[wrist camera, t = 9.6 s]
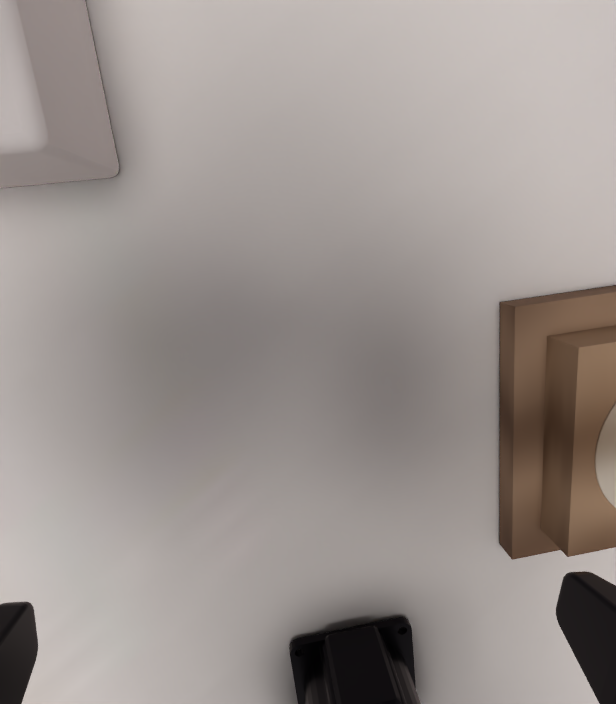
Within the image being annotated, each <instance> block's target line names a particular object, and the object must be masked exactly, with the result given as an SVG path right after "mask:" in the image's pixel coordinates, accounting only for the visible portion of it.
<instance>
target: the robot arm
mask: <svg viewBox="0 0 616 704" xmlns="http://www.w3.org/2000/svg"><path fill="white" fill-rule="evenodd" d="M556 616H557V620H558V623H559V625H560V627H561V629H562V631H563V633H564V635H565V637H566V639H567V641H568V643H569V645H570V647H571V649H572V651H573V653H574V655H575V657H576V659H577V661H578V662H579V664H580V666H581V668H582V670H583V672H584V674H585V676H586V678H587V680H588V682H589V684H590V686H591V688H592V690H593V692H594V694H595V696H596V697H597V699H598V701H599V703H600V704H616V586H615V585H613V584H611V583H610V582H608V581H606V580H604V579H602V578H600V577H599V576H597V575H595V574H593V573H590V572H570V573H567V574H566V575H565V576H564V578H563V581H562V586H561V590H560V594H559V598H558V602H557V606H556ZM401 627H402V628H401ZM289 648H290V657H291V663H292V669H293V675H294V681H295V687H296V693H297V699H298V704H421V703H420V700H419V698H418V695H417V692H416V687H415V672H414V657H413V642H412V629H411V626H410V623H409V621H408V619H406V618H404V617H398V618H393V619H389V620H384V621H379V622H374V623H370V624H365V625H360V626H355V627H351V628H346V629H341V630H336V631H331V632H327V633H322V634H317V635H312V636H308V637H303V638H298V639H295V640H293V641H292V642H291V644H290V647H289ZM298 649H300V650H298ZM37 651H38V639H37V631H36V623H35V615H34V609H33V606H32V604H31V603H29V602H12V603H3V604H1V605H0V704H21V703H22V700H23V697H24V694H25V691H26V688H27V685H28V682H29V679H30V676H31V673H32V670H33V667H34V664H35V661H36V657H37Z"/></svg>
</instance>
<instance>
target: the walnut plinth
mask: <svg viewBox="0 0 616 704" xmlns="http://www.w3.org/2000/svg"><path fill="white" fill-rule="evenodd" d="M500 545H501V546H502V547H503V549H504V550H505V551H506V552H507V554H508V555H509V556H510V557H511V559H517V558H522V557H527V556H532V555H537V554H542V553H547V552H552V551H557V550H562V551H563V552H564V553H565V555H566V556H567V557H569V556H574V555H579V554H584V553H589V552H594V551H599V550H604V549H609V548H613V547H616V285H614V286H608V287H601V288H594V289H587V290H580V291H573V292H567V293H560V294H553V295H546V296H539V297H532V298H526V299H519V300H512V301H505V302H500Z"/></svg>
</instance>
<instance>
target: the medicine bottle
mask: <svg viewBox="0 0 616 704" xmlns="http://www.w3.org/2000/svg"><path fill="white" fill-rule="evenodd" d="M118 172H119V163H118V158H117V153H116V149H115V144H114V139H113V134H112V129H111V124H110V119H109V114H108V109H107V104H106V100H105V95H104V90H103V85H102V80H101V75H100V70H99V65H98V60H97V55H96V51H95V46H94V41H93V36H92V31H91V26H90V21H89V16H88V11H87V6H86V2H85V0H0V188H8V187H18V186H29V185H39V184H50V183H61V182H71V181H82V180H92V179H103V178H111V177H114V176H116V175H117V173H118Z"/></svg>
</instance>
